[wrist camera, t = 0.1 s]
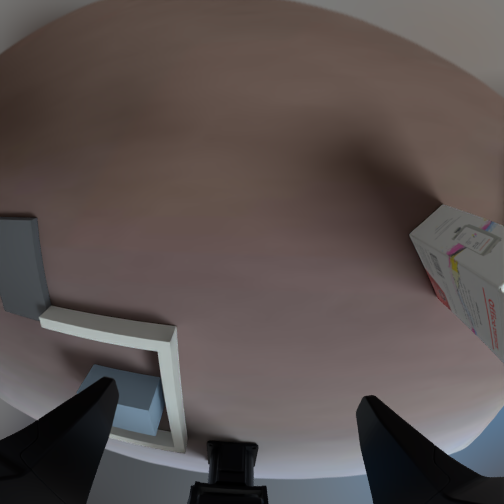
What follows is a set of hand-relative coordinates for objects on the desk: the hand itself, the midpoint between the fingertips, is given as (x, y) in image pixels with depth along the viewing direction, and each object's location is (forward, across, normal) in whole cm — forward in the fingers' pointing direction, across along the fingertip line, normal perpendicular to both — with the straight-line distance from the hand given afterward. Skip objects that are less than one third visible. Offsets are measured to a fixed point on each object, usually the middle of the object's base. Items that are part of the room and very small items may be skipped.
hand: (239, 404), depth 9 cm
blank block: (+15, +12, +16) cm, 25 cm away
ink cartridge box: (+15, -18, -2) cm, 23 cm away
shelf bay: (+15, +12, +16) cm, 25 cm away
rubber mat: (+15, +24, +3) cm, 28 cm away
